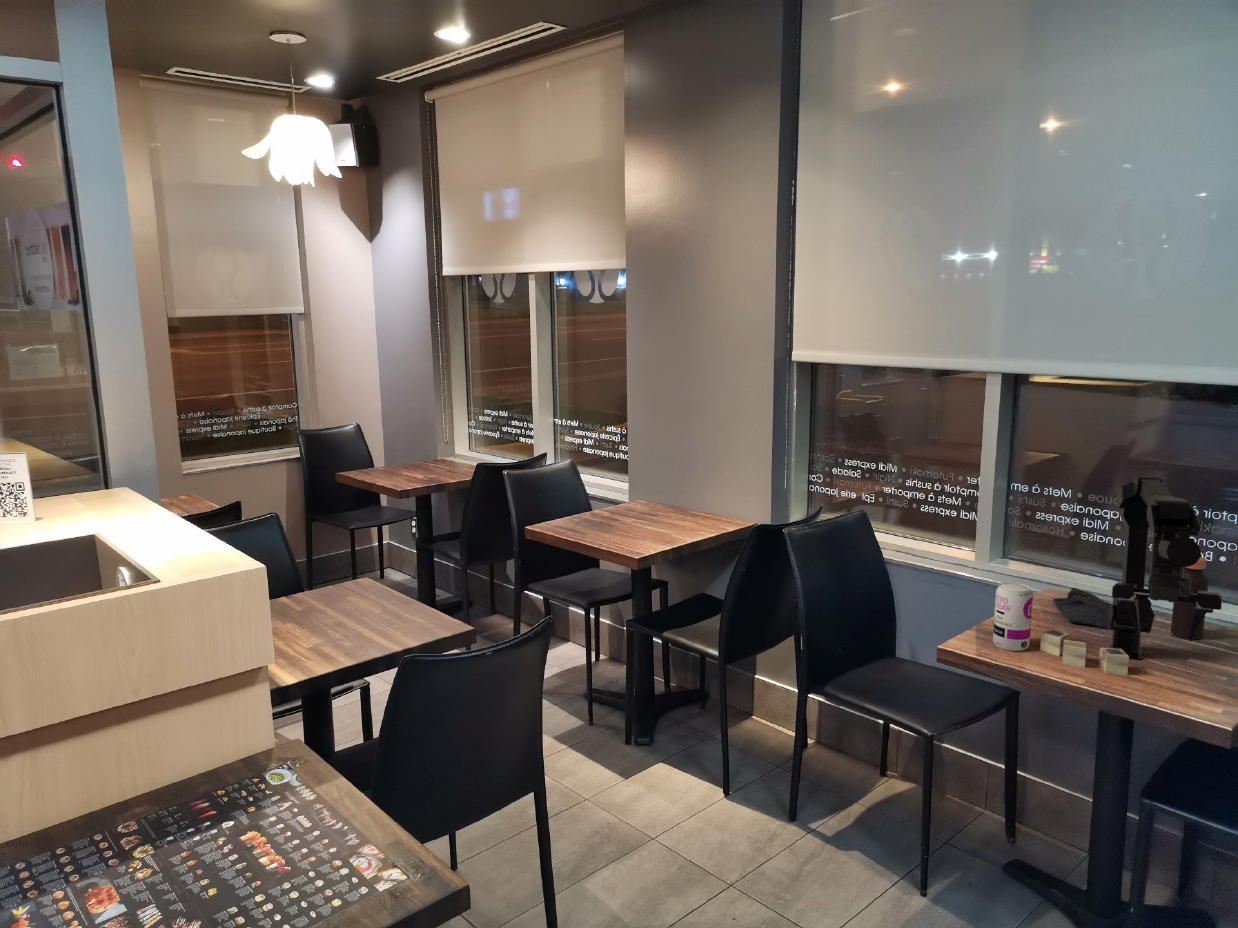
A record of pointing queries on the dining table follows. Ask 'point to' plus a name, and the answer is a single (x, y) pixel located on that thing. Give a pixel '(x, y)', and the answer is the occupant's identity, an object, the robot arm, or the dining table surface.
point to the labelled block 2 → (1113, 661)
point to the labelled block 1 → (1053, 641)
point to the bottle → (1185, 610)
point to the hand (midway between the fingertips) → (1163, 637)
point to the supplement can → (1013, 616)
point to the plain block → (1074, 653)
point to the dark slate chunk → (1083, 608)
